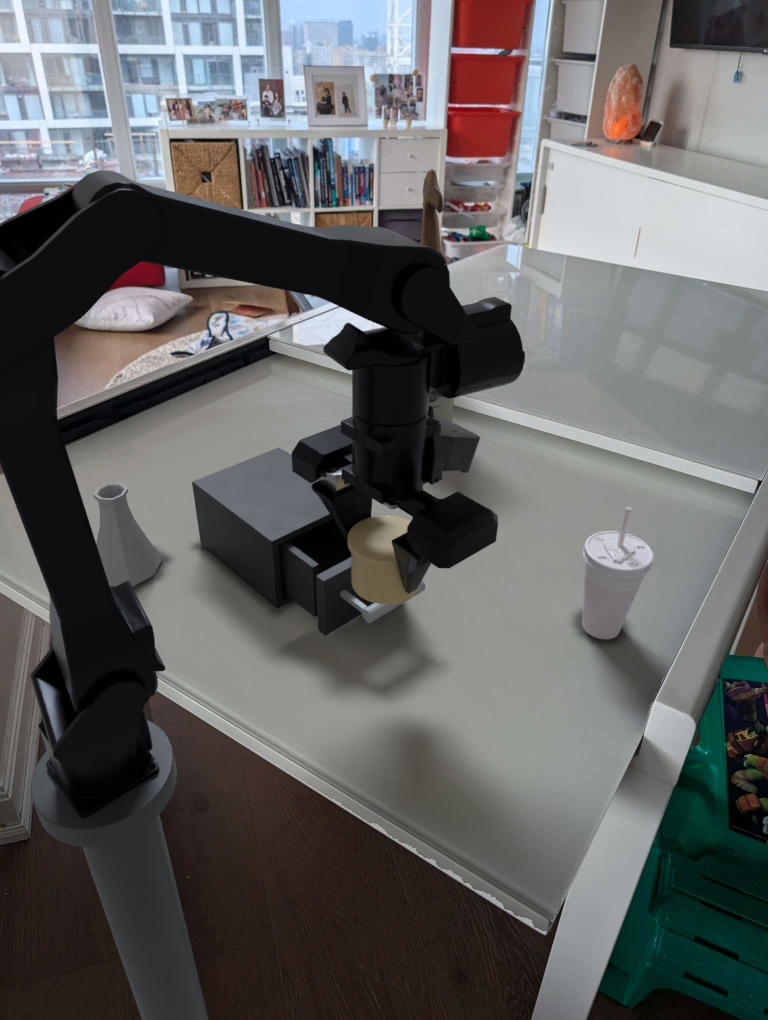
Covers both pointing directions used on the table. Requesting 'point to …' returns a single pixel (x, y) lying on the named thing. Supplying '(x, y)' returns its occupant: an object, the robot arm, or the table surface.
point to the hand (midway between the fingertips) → (385, 572)
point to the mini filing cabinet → (256, 517)
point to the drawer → (325, 578)
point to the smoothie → (612, 578)
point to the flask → (122, 539)
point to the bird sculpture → (431, 211)
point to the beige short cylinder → (377, 559)
